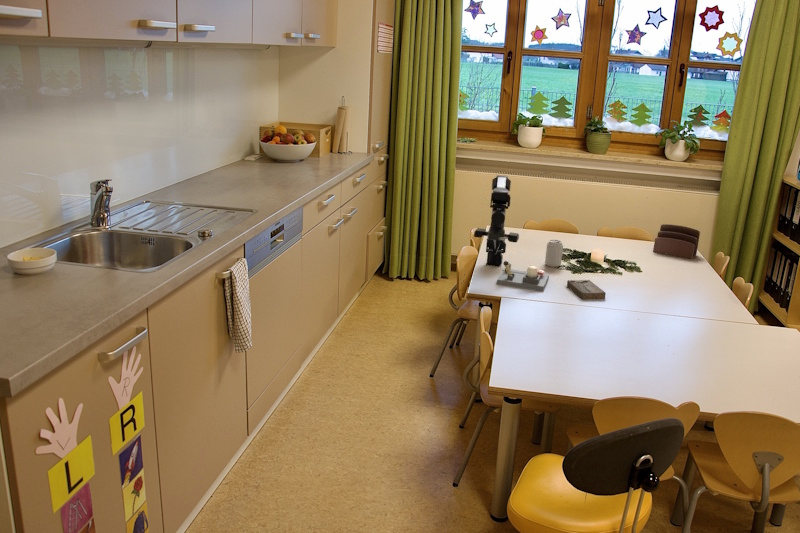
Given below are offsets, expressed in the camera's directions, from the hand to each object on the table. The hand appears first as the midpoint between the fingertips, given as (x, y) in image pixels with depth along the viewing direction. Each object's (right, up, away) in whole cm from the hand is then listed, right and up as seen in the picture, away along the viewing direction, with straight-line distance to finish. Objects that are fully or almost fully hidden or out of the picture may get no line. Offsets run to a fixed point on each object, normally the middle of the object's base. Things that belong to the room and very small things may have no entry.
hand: (494, 254), depth 326 cm
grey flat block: (+38, -17, -6) cm, 42 cm away
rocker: (+19, -8, +6) cm, 21 cm away
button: (+16, -10, -3) cm, 19 cm away
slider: (+7, -7, +10) cm, 14 cm away
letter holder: (+101, +1, +61) cm, 117 cm away
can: (+31, -5, +29) cm, 43 cm away
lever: (+7, -10, +1) cm, 13 cm away
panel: (+13, -12, +3) cm, 18 cm away
